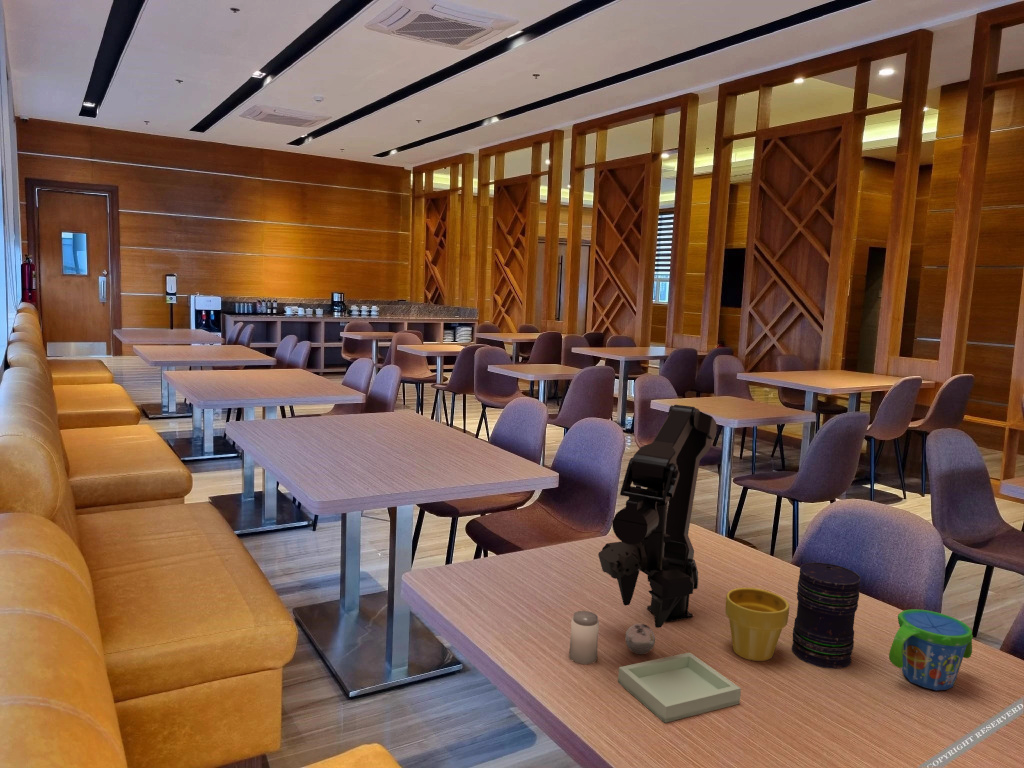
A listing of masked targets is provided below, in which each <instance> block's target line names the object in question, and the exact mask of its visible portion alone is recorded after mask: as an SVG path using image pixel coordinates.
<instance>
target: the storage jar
mask: <svg viewBox="0 0 1024 768" xmlns="http://www.w3.org/2000/svg"><path fill="white" fill-rule="evenodd" d="M860 584H861V576H860V574H858V573H857V572H855V571H853V570H851V569H849V568H847V567H844V566H840V565H836V564H830V563H825V562H809V563H808V562H807V563H804V564H802V565H800V567H799V575H798V581H797V592H796V599H797V609H796V617H795V618H794V625H793V628H792V645H791V652H792V654H793V655H794V656H795V657H797V659H799V660H801V661H803V662H804V663H807V664H809V665H812V666H814V667H818V668H823V669H828V670H829V669H832V670H833V669H834V670H835V669H836V670H839V669H845V668H847V667H849V666H850V665H851V663H852V657H851V656H852V654H853V650H854V644H855V640H854V638H855V630H854V625H855V619H856V618H855V617H856V616H855V614H856V612H857V610H858V608H859V607H858V606H859V604H858V602H859V600H860Z"/></svg>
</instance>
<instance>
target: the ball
mask: <svg viewBox="0 0 1024 768" xmlns="http://www.w3.org/2000/svg"><path fill="white" fill-rule="evenodd" d="M624 638H625V644H626V646H627V649H629V650H630V651H631V652H632V653H634V654H637V655H644V654H647V653H649V652H650V651H652V649H653V648H654V646H655V640H656V637H655V633H654V631H653V629H652V628H651V627H650V626H649V625H647V624H645V623H639V622H638V623H635V624H632V625H630V626H629V627H628V629H627V630H626V632H625V637H624Z"/></svg>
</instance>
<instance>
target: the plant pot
mask: <svg viewBox="0 0 1024 768" xmlns="http://www.w3.org/2000/svg"><path fill="white" fill-rule="evenodd" d="M789 613H790V603H789V601H788V600H787V599H786V598H785V597H783V596H781V595H779V594H777V593H775V592H772V591H771V590H770V591H769V590H766V589H762V588H756V587H738V588H733V589H731V590H729V591H728V592H727V594H726V596H725V615H726V617H727V618H728V619H729V620H728V621H729V627H730V633H731V634H730V637H731V642H732V643H731V644H732V649H733V653H735V654H736V655H738V656H739V657H741V658H743V659H745V660H748V661H755V662H764V661H768V660H770V659H772V657H773V656H774V653H775V650H776V647H777V644H778V642H779V639H780V636H781V634H782V630H783V629H784V628H785V627H786V626H787V625H788V622H789Z"/></svg>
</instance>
